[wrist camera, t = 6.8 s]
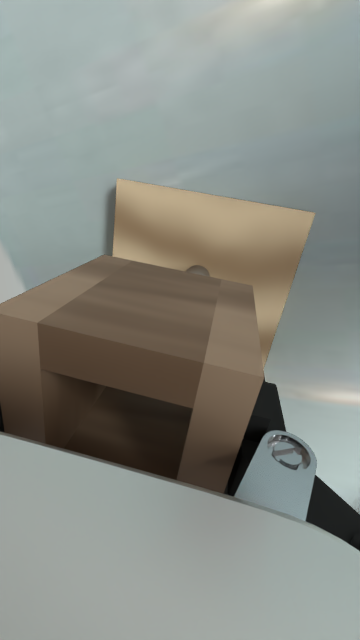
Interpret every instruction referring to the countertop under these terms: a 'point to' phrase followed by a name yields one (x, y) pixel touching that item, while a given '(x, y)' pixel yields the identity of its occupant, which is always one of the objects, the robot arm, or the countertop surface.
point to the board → (214, 241)
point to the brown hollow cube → (134, 367)
